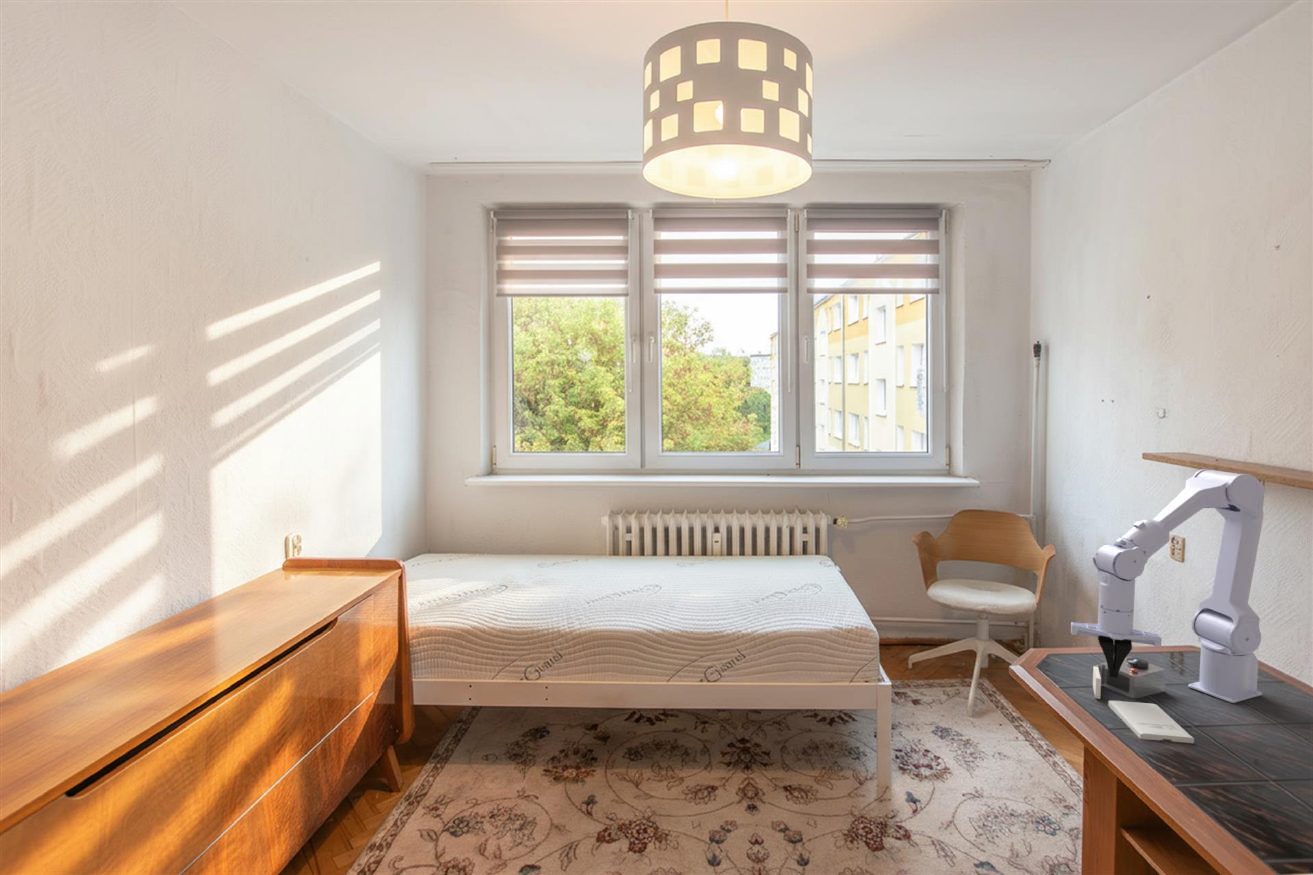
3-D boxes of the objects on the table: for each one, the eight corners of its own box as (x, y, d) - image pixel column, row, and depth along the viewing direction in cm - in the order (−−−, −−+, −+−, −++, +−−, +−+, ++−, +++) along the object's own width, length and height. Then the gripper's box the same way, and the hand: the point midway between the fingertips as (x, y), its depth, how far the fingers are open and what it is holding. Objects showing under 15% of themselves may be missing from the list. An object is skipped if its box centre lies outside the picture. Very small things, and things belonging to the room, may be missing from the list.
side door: (1099, 684, 138) (1100, 665, 138) (1103, 699, 131) (1104, 679, 131) (1092, 682, 138) (1092, 663, 138) (1095, 697, 132) (1096, 678, 132)
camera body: (1129, 677, 141) (1130, 650, 141) (1164, 691, 135) (1165, 663, 134) (1098, 684, 138) (1099, 657, 138) (1133, 699, 132) (1134, 670, 131)
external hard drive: (1156, 712, 128) (1194, 746, 115) (1107, 708, 129) (1139, 741, 117) (1156, 703, 127) (1194, 736, 115) (1108, 699, 129) (1140, 732, 117)
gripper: (1073, 607, 132) (1070, 675, 133) (1165, 619, 125) (1162, 691, 126) (1071, 597, 138) (1068, 662, 139) (1159, 608, 131) (1155, 676, 132)
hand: (1112, 675), depth 133 cm, fingers closed
